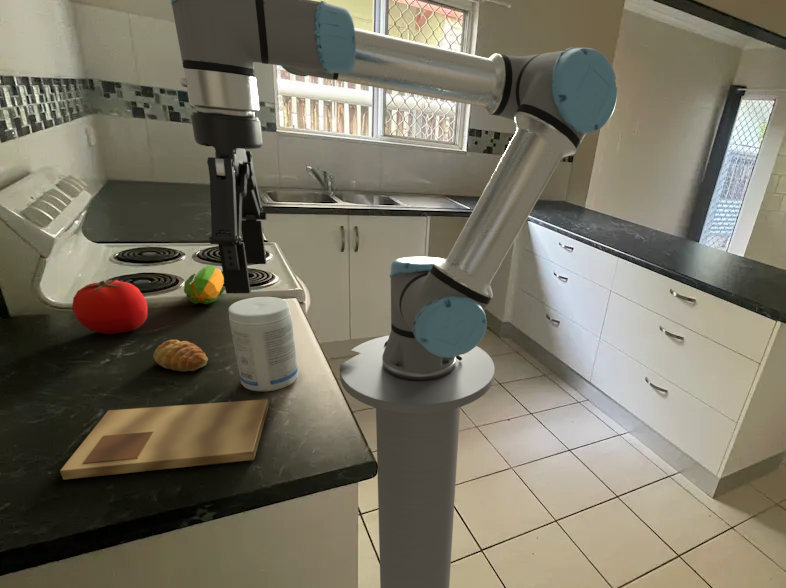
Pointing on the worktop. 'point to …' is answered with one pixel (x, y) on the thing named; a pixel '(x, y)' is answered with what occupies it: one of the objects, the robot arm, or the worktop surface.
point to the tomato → (110, 307)
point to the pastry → (180, 356)
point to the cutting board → (169, 438)
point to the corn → (205, 285)
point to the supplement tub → (263, 343)
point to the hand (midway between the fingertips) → (248, 277)
